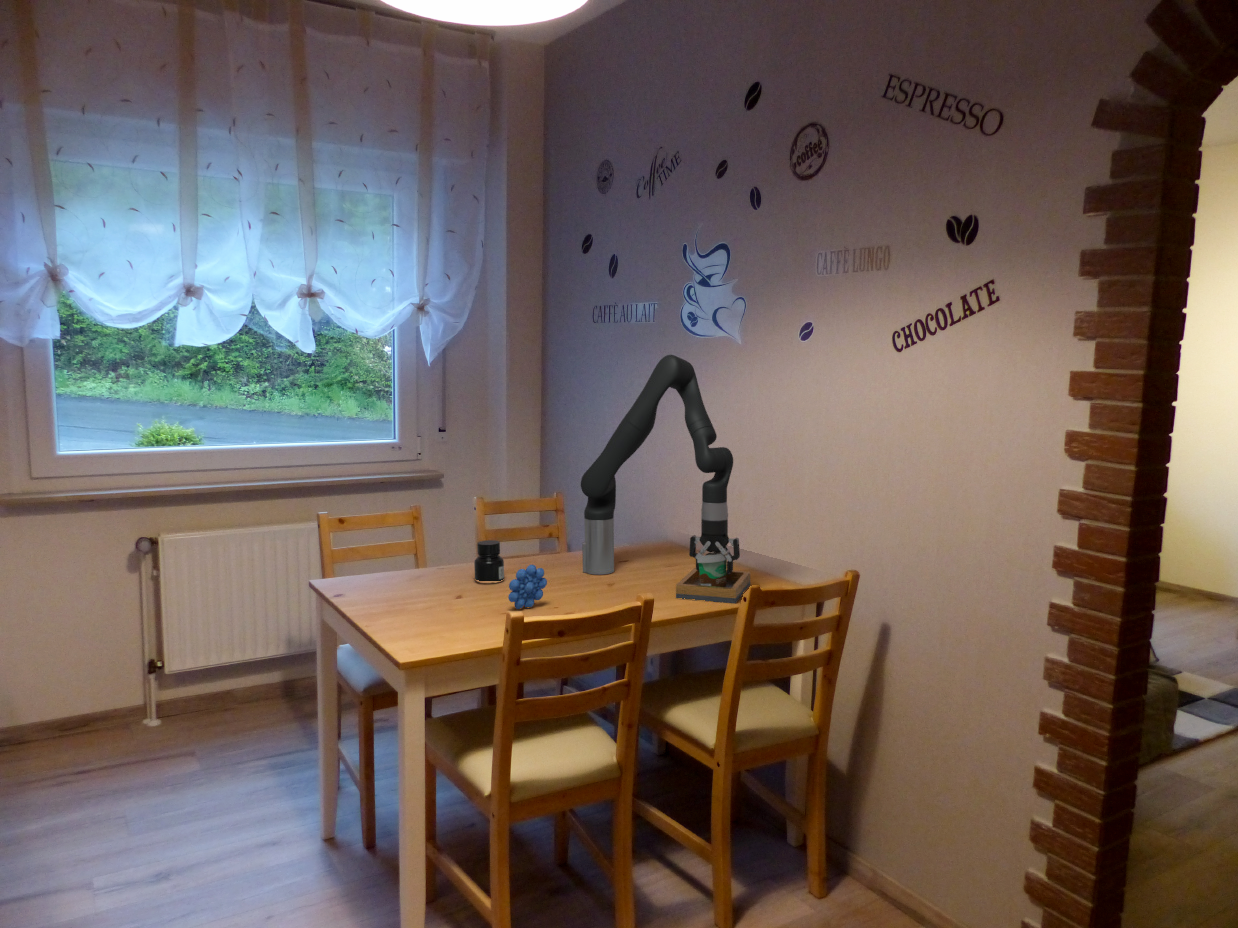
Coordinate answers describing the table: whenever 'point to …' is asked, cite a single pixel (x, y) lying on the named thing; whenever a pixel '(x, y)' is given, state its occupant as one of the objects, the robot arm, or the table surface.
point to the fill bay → (713, 587)
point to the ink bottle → (489, 561)
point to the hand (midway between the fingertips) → (714, 572)
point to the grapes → (527, 587)
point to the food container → (712, 569)
